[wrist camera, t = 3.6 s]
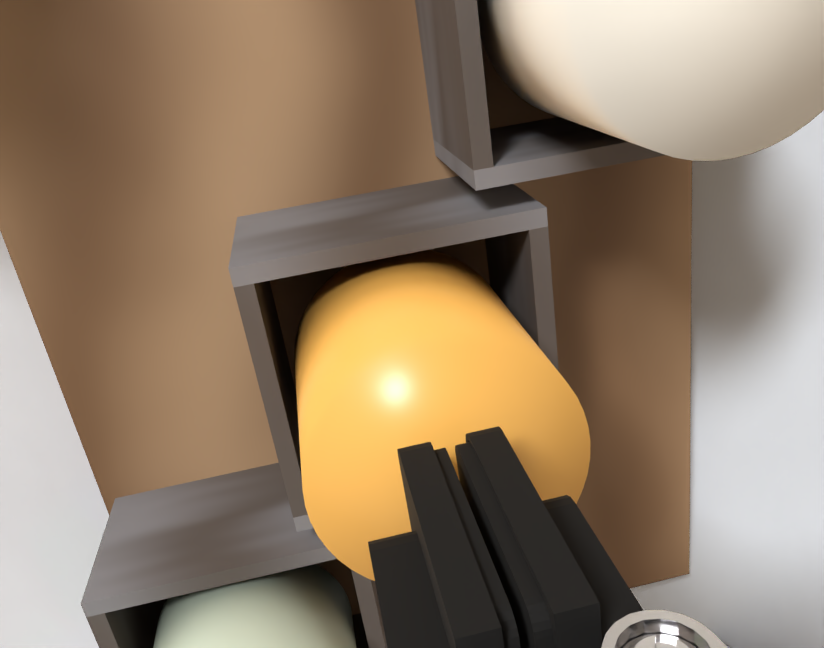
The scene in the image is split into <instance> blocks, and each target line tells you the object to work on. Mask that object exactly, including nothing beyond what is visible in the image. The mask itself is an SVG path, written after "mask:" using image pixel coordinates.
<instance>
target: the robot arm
mask: <svg viewBox="0 0 824 648" xmlns="http://www.w3.org/2000/svg"><path fill="white" fill-rule="evenodd" d="M397 452H398V458H399V464H400V470H401V475H402V481H403V486H404V492H405V497H406V503H407V508H408V514H409V519H410V525H411V530H412V531H411V532H407V533H403V534H399V535H394V536H390V537H386V538H382V539H377V540H373V541H369V542H368V546H369V551H370V557H371V562H372V568H373V573H374V578H375V584H376V589H377V594H378V600H379V605H380V611H381V616H382V621H383V627H384V632H385V637H386V643H387V648H728V647H727V646H726V645H725V644H724V643H723V642H722V641H721V640H720V639H719V638H718V637H717V636H716V635H715V634H714V633H713V632H712V631H710V630H709V629H708V628H707V627H705V626H704V625H703V624H702V623H701V622H699V621H696V620H694V619H692V618H690V617H688V616H686V615H684V614H680V613H676V612H671V611H667V610H643V609H642V608H641V606H640V605H639V603H638V601H637V600H636V598H635V597H634V595H633V593H632V592H631V590H630V589H629V587H628V585H627V584H626V582H625V581H624V579H623V578H622V576H621V574H620V573H619V571H618V570H617V568H616V566H615V565H614V563H613V562H612V560H611V559H610V557H609V555H608V554H607V552H606V551H605V549H604V547H603V546H602V544H601V543H600V541H599V540H598V538H597V536H596V535H595V533H594V532H593V530H592V528H591V527H590V525H589V524H588V522H587V521H586V519H585V517H584V516H583V514H582V513H581V511H580V509H579V508H578V506H577V505H576V503H575V502H574V501H573V499H572V498H571V497H570V496H568V495H564V496H560V497H556V498H552V499H547V500H543V501H542V500H541V498H540V496H539V494H538V493H537V491H536V489H535V487H534V485H533V484H532V482H531V480H530V478H529V477H528V475H527V473H526V471H525V470H524V468H523V466H522V464H521V462H520V461H519V459H518V457H517V455H516V454H515V452H514V450H513V448H512V447H511V445H510V443H509V441H508V439H507V438H506V436H505V434H504V432H503V431H502V429H501V428H500V427H499V426H498V427H493V428H489V429H484V430H480V431H475V432H471V433H466V443H463V444H459V445H455V453H456V460H457V467H458V474H459V479H458V476H457V474H456V471H455V469H454V466H453V464H452V462H451V459H450V457H449V454H448V452H447V450H446V448H441V449H436V450H434V449H433V446H432V444H431V442H426V443H421V444H417V445H412V446H408V447H404V448H399V449H397Z"/></svg>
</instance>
